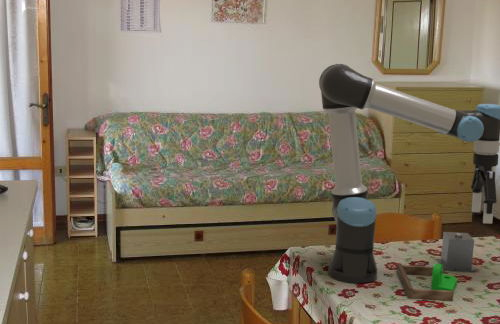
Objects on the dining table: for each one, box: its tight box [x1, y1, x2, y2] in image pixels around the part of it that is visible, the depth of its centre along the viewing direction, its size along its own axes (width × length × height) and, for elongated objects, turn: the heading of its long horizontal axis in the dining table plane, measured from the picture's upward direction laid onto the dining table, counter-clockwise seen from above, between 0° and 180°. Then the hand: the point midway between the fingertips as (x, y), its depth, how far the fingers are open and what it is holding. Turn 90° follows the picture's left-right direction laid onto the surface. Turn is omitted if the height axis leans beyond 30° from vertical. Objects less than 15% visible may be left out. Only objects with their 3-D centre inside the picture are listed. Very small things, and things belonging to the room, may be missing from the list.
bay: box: [396, 262, 455, 301], centre depth 201 cm, size 13×21×3 cm, turn 176°
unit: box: [436, 231, 476, 273], centre depth 219 cm, size 10×10×11 cm
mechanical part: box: [430, 262, 458, 292], centre depth 200 cm, size 12×6×8 cm, turn 155°
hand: (481, 217), depth 216 cm, fingers open, 13 cm apart
